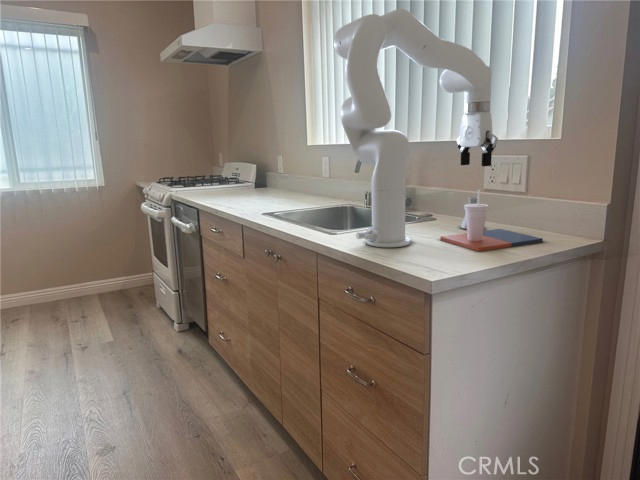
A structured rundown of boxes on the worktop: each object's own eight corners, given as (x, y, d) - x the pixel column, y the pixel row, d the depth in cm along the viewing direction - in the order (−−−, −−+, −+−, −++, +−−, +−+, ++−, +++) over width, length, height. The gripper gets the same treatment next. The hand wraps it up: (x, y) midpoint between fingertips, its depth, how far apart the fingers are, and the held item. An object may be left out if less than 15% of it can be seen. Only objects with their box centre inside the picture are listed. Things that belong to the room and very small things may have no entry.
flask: (485, 230, 137) (487, 198, 134) (461, 230, 138) (462, 199, 136) (481, 225, 144) (483, 195, 141) (459, 225, 145) (460, 196, 143)
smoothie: (484, 242, 116) (486, 190, 113) (460, 240, 120) (461, 190, 116) (489, 238, 121) (491, 188, 118) (465, 236, 125) (467, 187, 122)
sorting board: (478, 251, 111) (478, 247, 111) (440, 239, 126) (440, 236, 126) (542, 241, 119) (542, 238, 119) (499, 231, 134) (499, 228, 133)
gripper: (449, 111, 139) (448, 165, 143) (487, 107, 124) (485, 167, 127) (468, 111, 142) (466, 163, 146) (507, 106, 126) (505, 165, 130)
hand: (475, 165), depth 137 cm, fingers open, 9 cm apart
